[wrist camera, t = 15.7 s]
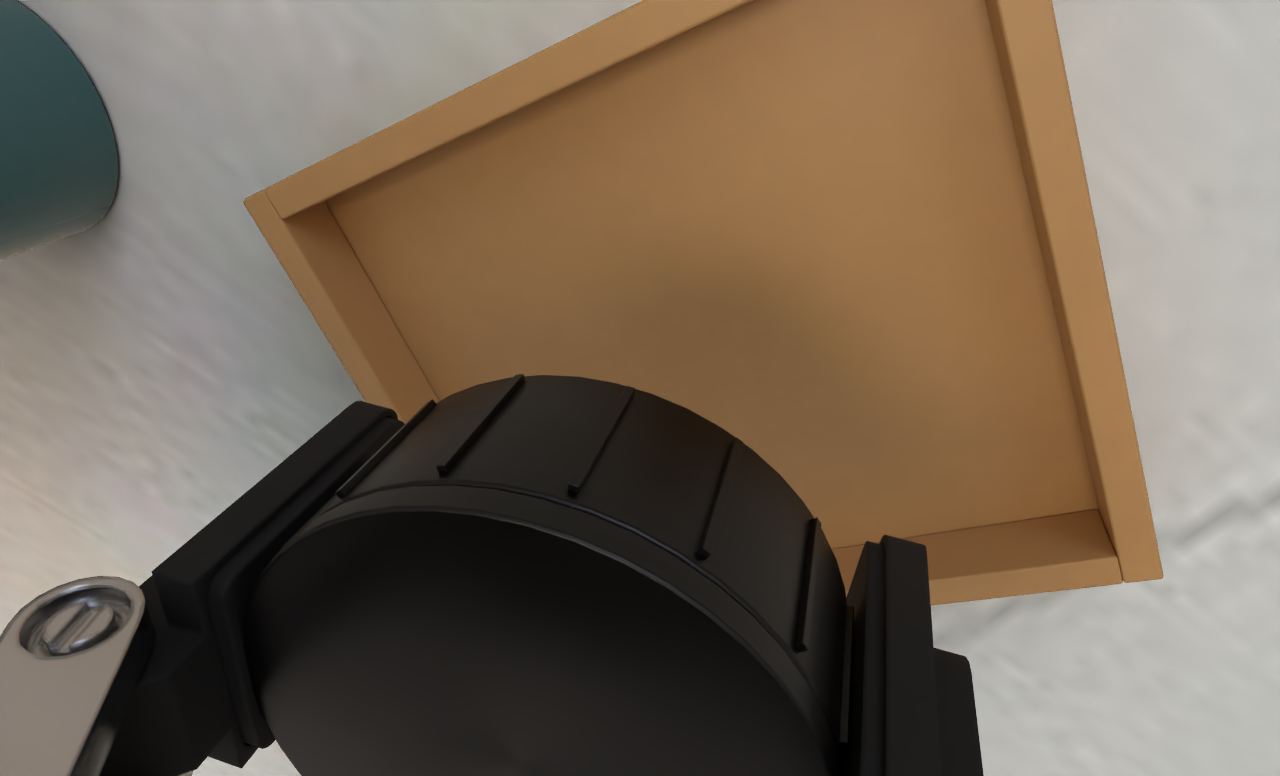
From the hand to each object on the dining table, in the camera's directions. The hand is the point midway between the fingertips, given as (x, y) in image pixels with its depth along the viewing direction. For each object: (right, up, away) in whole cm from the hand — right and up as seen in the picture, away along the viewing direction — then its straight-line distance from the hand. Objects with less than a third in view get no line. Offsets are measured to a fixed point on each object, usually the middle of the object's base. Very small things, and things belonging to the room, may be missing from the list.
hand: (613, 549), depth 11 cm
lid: (-1, -1, -3) cm, 3 cm away
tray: (+2, +4, +6) cm, 7 cm away
